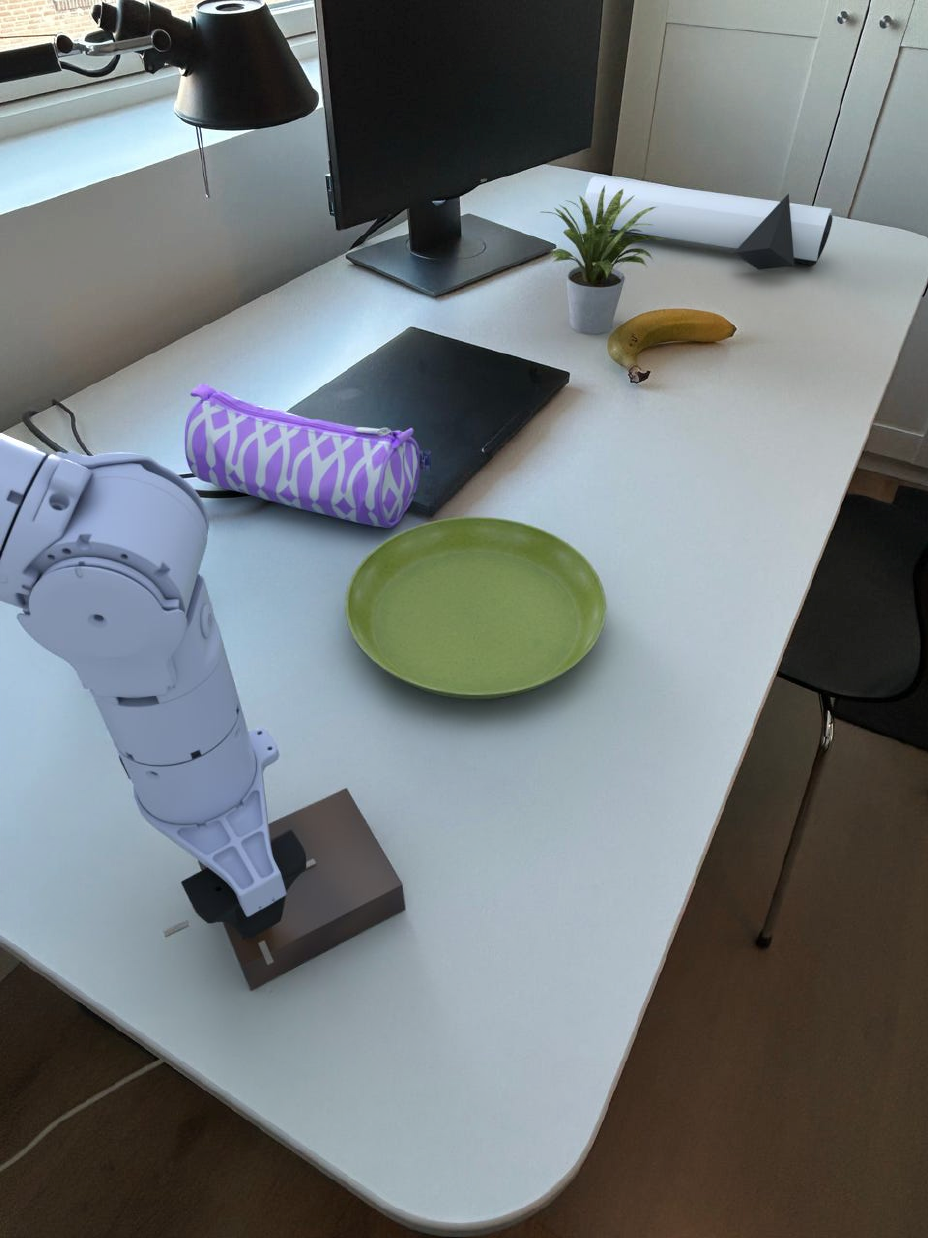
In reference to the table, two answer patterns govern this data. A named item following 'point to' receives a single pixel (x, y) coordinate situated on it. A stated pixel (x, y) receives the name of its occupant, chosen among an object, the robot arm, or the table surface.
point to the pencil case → (303, 459)
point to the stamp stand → (321, 890)
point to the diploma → (720, 221)
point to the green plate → (475, 607)
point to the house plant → (598, 264)
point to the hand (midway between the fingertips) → (233, 872)
